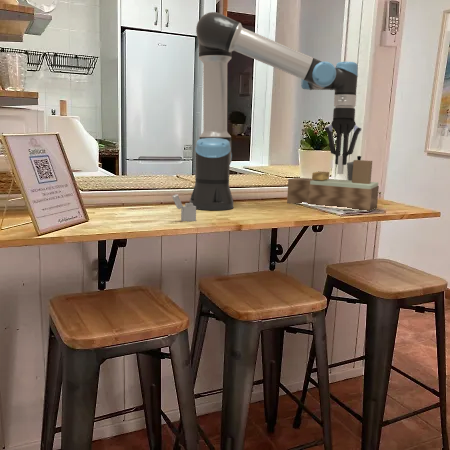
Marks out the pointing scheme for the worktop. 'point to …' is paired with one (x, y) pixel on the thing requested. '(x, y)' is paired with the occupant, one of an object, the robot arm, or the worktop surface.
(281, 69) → the robot arm
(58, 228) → the worktop surface
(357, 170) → the lid
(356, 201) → the brown wooden box
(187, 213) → the lighter
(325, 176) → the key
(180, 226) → the worktop surface
